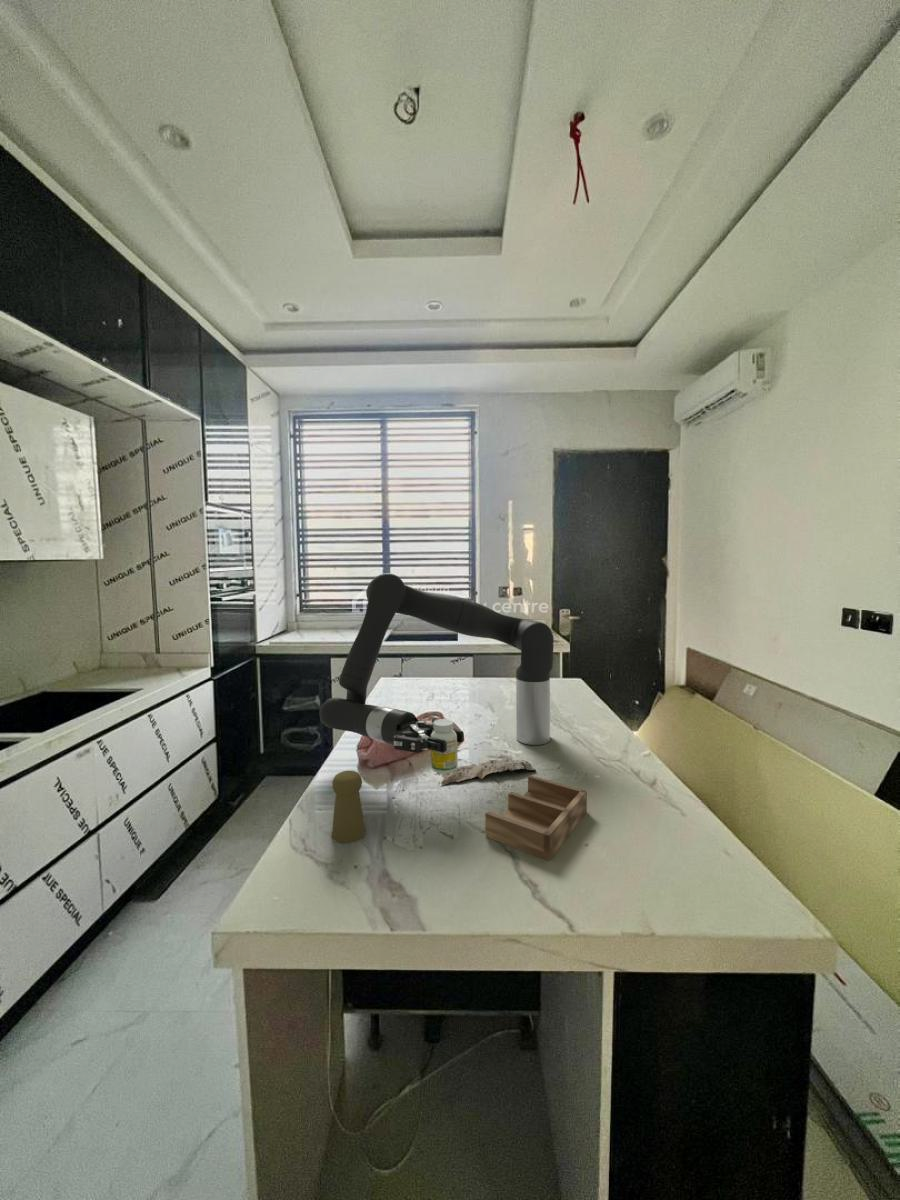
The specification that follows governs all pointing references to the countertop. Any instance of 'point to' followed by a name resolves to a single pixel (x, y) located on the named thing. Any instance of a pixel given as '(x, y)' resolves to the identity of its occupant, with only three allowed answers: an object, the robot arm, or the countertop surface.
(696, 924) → the countertop surface
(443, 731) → the supplement bottle
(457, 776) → the stone fragment
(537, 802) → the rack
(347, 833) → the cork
